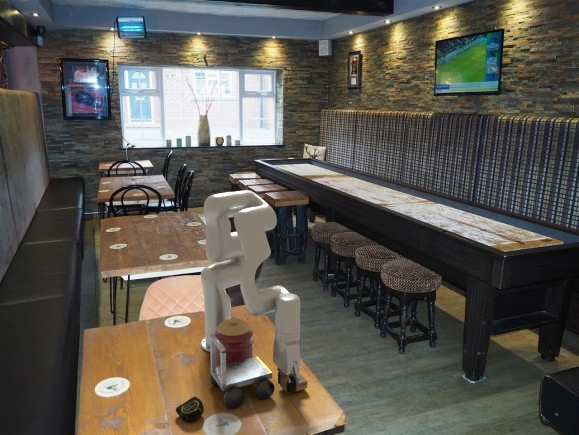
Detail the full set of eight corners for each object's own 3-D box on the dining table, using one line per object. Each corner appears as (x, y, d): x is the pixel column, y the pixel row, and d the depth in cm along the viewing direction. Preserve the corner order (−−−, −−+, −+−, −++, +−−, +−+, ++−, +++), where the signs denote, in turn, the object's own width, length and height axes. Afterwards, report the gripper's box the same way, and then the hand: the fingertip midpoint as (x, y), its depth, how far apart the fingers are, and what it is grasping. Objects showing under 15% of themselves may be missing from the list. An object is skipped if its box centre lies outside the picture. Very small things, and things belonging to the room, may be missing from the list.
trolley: (208, 386, 152) (207, 331, 148) (255, 373, 160) (255, 320, 155) (224, 411, 140) (223, 352, 136) (274, 396, 148) (274, 339, 143)
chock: (280, 385, 152) (280, 370, 150) (299, 380, 155) (299, 364, 154) (287, 393, 147) (287, 377, 146) (307, 387, 151) (307, 372, 149)
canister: (222, 353, 173) (221, 308, 169) (257, 357, 171) (257, 311, 167) (210, 372, 160) (208, 324, 156) (247, 377, 158) (247, 328, 154)
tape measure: (198, 402, 142) (195, 392, 141) (209, 414, 137) (206, 405, 136) (177, 415, 139) (174, 406, 137) (187, 428, 134) (184, 418, 132)
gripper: (264, 325, 151) (264, 377, 156) (289, 349, 137) (289, 405, 141) (285, 320, 155) (285, 371, 159) (312, 343, 140) (311, 398, 144)
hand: (286, 386), depth 150 cm, fingers closed on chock, 5 cm apart
